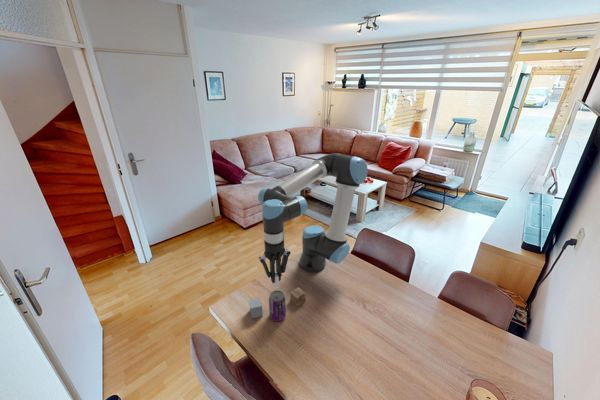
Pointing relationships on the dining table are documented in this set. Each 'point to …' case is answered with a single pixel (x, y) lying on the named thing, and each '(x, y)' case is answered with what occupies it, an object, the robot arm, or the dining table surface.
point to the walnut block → (297, 296)
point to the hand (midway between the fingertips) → (276, 287)
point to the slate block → (255, 308)
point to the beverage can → (277, 305)
